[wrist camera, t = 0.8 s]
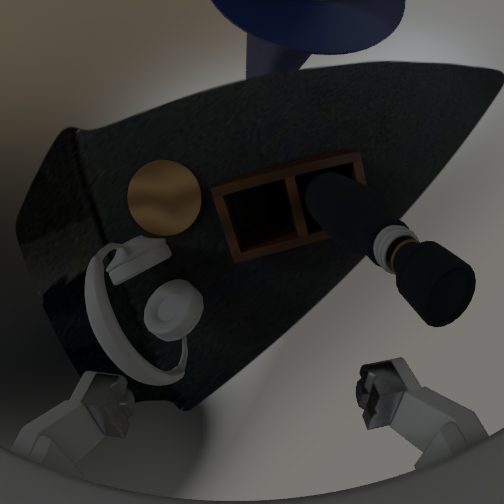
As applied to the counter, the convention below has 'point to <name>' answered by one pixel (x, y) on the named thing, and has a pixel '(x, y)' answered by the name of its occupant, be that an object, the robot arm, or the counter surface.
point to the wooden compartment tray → (300, 228)
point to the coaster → (164, 197)
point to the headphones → (155, 314)
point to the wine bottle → (389, 245)
